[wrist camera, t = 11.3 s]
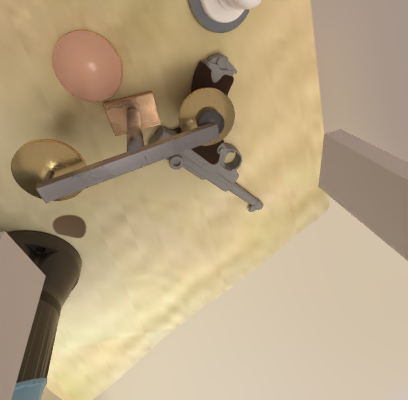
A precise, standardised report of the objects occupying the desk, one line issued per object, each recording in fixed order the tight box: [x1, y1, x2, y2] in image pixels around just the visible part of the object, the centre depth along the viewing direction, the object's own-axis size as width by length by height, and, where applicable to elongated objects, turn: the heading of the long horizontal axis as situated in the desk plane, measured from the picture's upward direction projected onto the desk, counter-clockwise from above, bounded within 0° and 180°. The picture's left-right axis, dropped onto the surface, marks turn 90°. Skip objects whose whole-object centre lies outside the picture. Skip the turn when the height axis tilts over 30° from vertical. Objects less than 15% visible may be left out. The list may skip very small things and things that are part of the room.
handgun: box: [149, 53, 263, 212], centre depth 39 cm, size 3×24×15 cm
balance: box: [11, 87, 235, 203], centre depth 27 cm, size 22×6×16 cm, turn 100°
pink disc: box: [53, 30, 122, 102], centre depth 29 cm, size 7×7×1 cm
